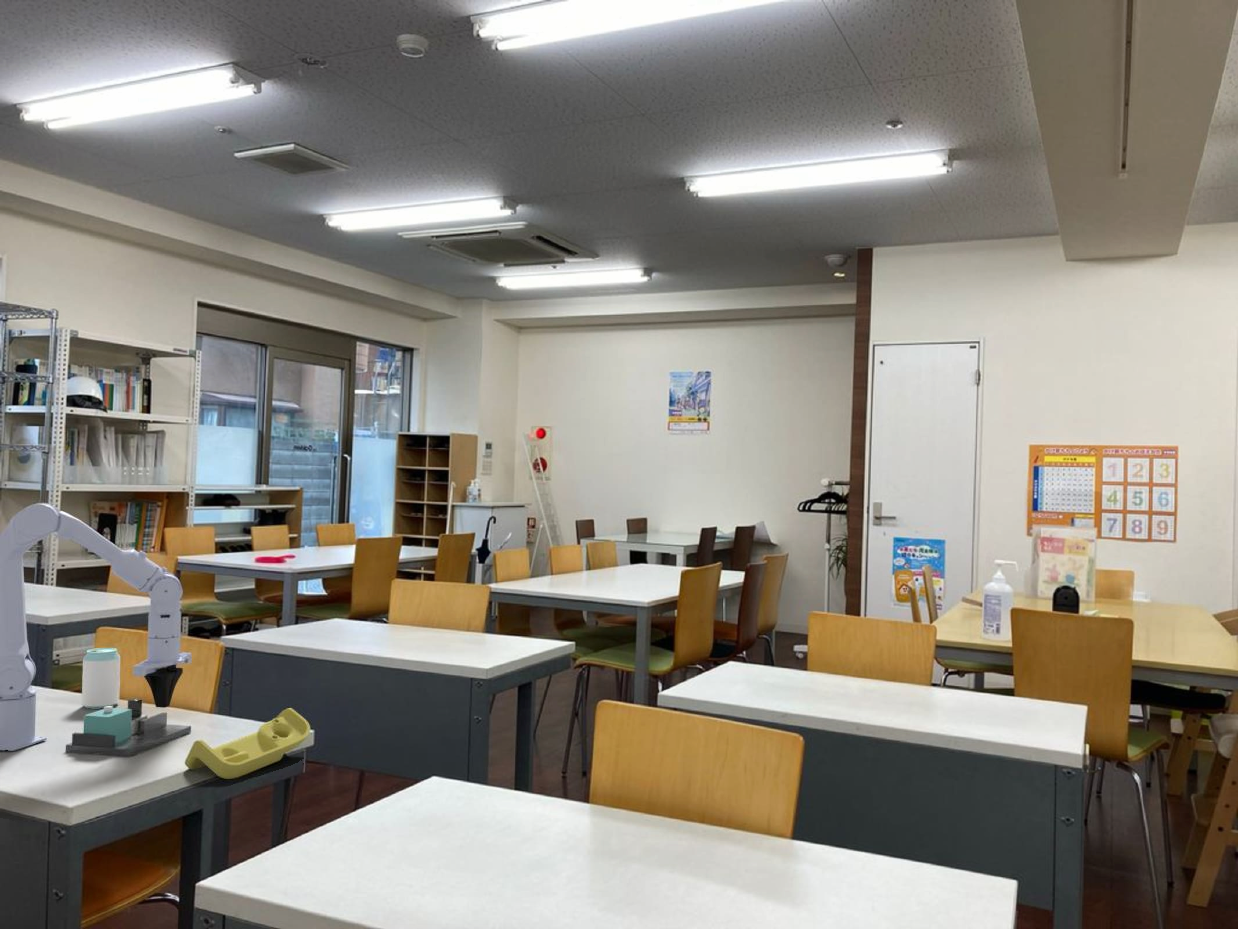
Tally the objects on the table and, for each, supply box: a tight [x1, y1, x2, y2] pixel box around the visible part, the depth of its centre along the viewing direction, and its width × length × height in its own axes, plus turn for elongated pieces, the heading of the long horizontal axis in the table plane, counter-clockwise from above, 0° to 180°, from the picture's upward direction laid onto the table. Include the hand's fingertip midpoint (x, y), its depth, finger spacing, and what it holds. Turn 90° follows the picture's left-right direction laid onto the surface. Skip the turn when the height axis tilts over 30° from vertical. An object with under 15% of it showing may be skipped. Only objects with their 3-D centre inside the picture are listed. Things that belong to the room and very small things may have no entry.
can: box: [81, 647, 121, 710], centre depth 204 cm, size 7×7×12 cm
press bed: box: [65, 712, 192, 757], centre depth 176 cm, size 13×17×4 cm
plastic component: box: [184, 707, 311, 780], centre depth 165 cm, size 20×7×10 cm
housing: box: [83, 706, 132, 743], centre depth 173 cm, size 5×6×6 cm
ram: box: [127, 698, 149, 735], centre depth 178 cm, size 4×5×6 cm
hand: (162, 706), depth 184 cm, fingers closed
